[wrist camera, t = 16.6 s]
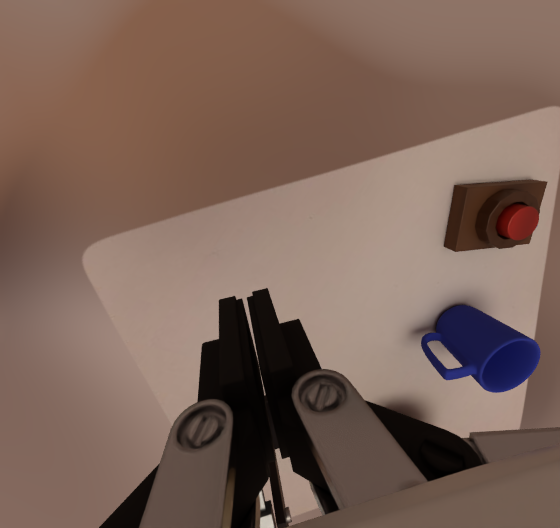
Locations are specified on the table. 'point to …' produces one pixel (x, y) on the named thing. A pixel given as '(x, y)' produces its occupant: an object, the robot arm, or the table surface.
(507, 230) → the power button
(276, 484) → the switch bracket
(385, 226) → the table surface
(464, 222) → the button block
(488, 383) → the mug
